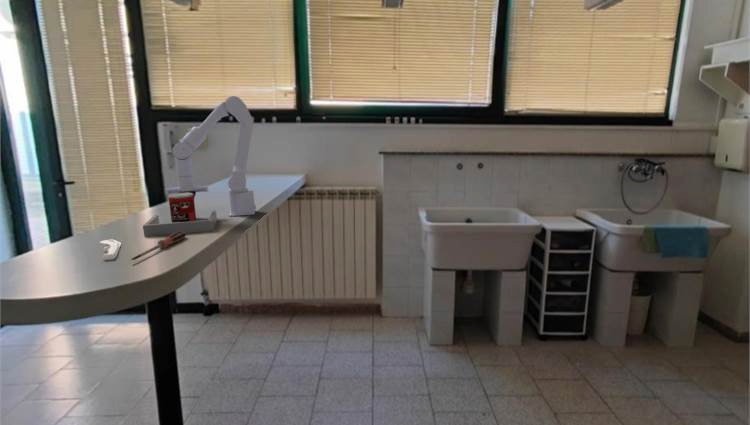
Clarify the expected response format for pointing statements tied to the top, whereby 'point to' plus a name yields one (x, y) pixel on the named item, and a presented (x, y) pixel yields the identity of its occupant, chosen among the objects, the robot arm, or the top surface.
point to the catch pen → (178, 226)
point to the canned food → (182, 207)
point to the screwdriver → (165, 242)
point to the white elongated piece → (111, 249)
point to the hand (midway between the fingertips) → (189, 211)
